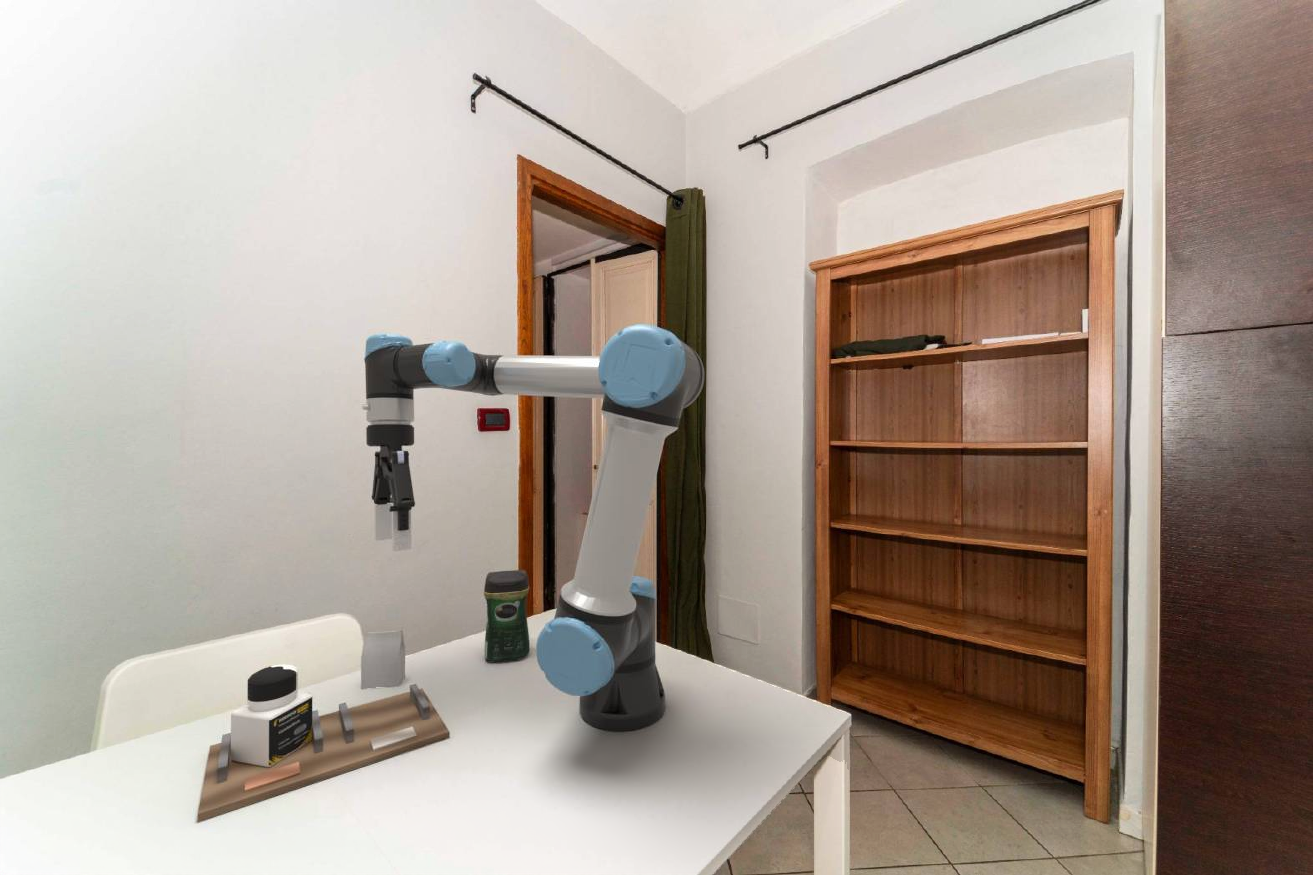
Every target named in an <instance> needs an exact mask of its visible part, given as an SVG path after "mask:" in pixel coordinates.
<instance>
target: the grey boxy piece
mask: <svg viewBox="0 0 1313 875" xmlns="http://www.w3.org/2000/svg"><path fill="white" fill-rule="evenodd" d="M404 640H405V639H404V634H403V630H389V631H372V632H370V631H369V632H365V633H364V638H363V645H362V650H361V657H360V669H361V670H360V690H368V689H367V688H371V689H377V688H376V687H385V688H396V687H398V688H399V687H400V686H401V684H402V683H403V682H404V680H405V679H406V646H405V642H404ZM401 682H402V683H401Z"/></svg>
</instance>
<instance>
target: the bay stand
mask: <svg viewBox="0 0 1313 875" xmlns="http://www.w3.org/2000/svg"><path fill="white" fill-rule="evenodd" d="M346 702H347V701H346ZM346 702H343V703H339V704H338V710H337V711H333V712H329V713H326V714H321V715H319V711H318V709H315V710H312V740H311V741H310V742H308V743H307V744H305V745H304V746H302V747H300V748H299V749H297V750H296V751H294V752H293V753H291V754H290V755H288V756H287V757H285V758H284V759H282V760H280V761H279V762H277V763H276V764H274V765H273V766H271V767H264V766H258V765H252V764H247V763H241V762H235V761H231V732H229V733H225V734H222V735H221V742H219V743H214V744H211V745H209V750H208V754H207V760H206V767H205V772H204V777H203V784H202V788H201V793H200V799H199V805H198V810H197V823H200V822H202V821H206V820H208V819H212V818H215V817H217V816H221V815H224V814H227V813H230V812H232V811H236V810H239V809H241V808H245V807H247V806H251V805H253V804H256V803H260V802H262V801H265V800H269V799H271V798H273V797H278V796H280V795H283V794H287V793H289V792H292V791H295V790H298V789H301V788H304V787H306V786H310V785H313V784H317V783H319V782H322V781H325V780H327V779H331V778H333V777H337V776H340V775H343V774H346V773H349V772H351V771H354V770H357V769H358V770H359V769H360V768H363V767H366V766H369V765H370V766H371V765H372V764H375V763H379V762H381V761H384V760H388V759H390V758H393V757H396V756H399V755H402V754H405V753H408V752H412V751H414V750H417V749H420V748H424V747H425V746H429V745H431V744H435V743H438V742H441V741H444V740H448V739H450V730H449V728H448V727H447V725H446V724H445V722H444V720H443V718H442V717H441V716H440V714H439V712H438V711H437V709H436V708H435V707H434V704H433V703H432V702H431V700H430V698H429V697H428V696H427V694H426V692H425V690H424V689H423V688H422V687H421V688H419V687H418V685H417V683H415V684H414V683H413V684H410V685H409V691H406V692H403V693H400V694H396V695H392V696H388V697H384V698H382V699H378V700H373V701H370V702H366V703H363V704H359V705H356V706H351V707H348V704H347V703H346Z"/></svg>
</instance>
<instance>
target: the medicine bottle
mask: <svg viewBox="0 0 1313 875" xmlns="http://www.w3.org/2000/svg"><path fill="white" fill-rule="evenodd" d="M298 671H299V669H298V667H296V665H293V664H276V665H275V664H274V665H270V666H268V667H265V668H262V669H260V670H258V671H255V672H254V673H253V674H251V675H250V676H249V678H248V679H247V704H245V705H243V706H241V707H239V708H237V709H235V710H233V711H232V712H231V714H230V733H231V761H235V762H241V763H247V764H252V765H258V766H264V767H271V766H273V765H274V764H276V763H277V762H279V761H280V760H282V759H284V758H285V757H287V756H288V755H290V754H291V753H293V752H294V751H296V750H297V749H299V748H300V747H302V746H304V745H305V744H307V743H308V742H310V741H311V740H312V711H313V695H312V694H310V693H303V692H299V691H298V690H299V687H298V686H299V685H298V684H299V682H298V681H299V678H298V677H299V672H298Z"/></svg>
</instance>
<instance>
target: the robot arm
mask: <svg viewBox="0 0 1313 875" xmlns="http://www.w3.org/2000/svg"><path fill="white" fill-rule="evenodd" d="M364 352H365V353H364V359H363V360H364V364H365V370H364V371H365V399H366V404H365V403H364V404H363V405H362V410H364V411H366V421H367V422H368V423H370V424H369V425H367V427H366V428H365V430H366V431H365V432H366V433H365V434H366V436H365V438H366V445H367V446H368V447H379V449H380V450H379V451H375V453H374V469H373V470H374V471H373V480H372V482H373V483H372V490H371V491H372V494H371V499H372V501H373V503H374V540H375V541H376V542H377V541H384V540H392V541H391V542H392V552H399V551H405V550H406V551H407V550H412V508H414V507H415V506H416V501H415V495H414V489H413V488H414V487H413V482H412V475H411V469H410V468H411V467H410V458H409V456H410V453H409V451H408V450H403V447H409V446H414V445H415V427H414V426H413V425H412V424H411V423H413V422H414V421H415V400H414V398H415V397H414V395H415V394H414V390H418V389H442V390H450V391H451V390H452V391H457V392H458V391H459V392H468V393H474V394H479V395H480V394H481V395H484V396H492V397H494V396H502V395H508V396H509V395H510V396H512V395H513V396H515V395H516V396H535V397H536V396H537V397H555V398H556V397H559V398H561V397H562V398H580V399H581V398H584V399H586V398H587V399H602V404H601V409H600V413H601V415H602V417H603V418H604V419H605V421H606V423H607V429H606V430H607V431H606V435H605V439H604V443H603V447H602V448H603V449H602V452H601V455H600V462H599V465H598V469H597V470H598V471H597V474H596V480H595V484H594V487H593V493H592V496H591V501H590V506H589V510H588V515H587V517H586V524H585V528H584V532H583V537H582V540H581V545H580V549H579V554H578V560H577V563H576V568H575V570H574V571H575V573H574V576H573V579H571V580H570V581H567V583H565V584H563V585H562V586H561V589H560V592H559V596H558V601H557V606H556V609H555V613H554V617H553V619H551V620H550V621H548V622H546V623H545V625H544V627H543V628H542V630H540V633H539V634H538V636H537V639H536V645H535V654H536V655H535V656H536V660H537V663H538V666H539V669H540V671H542V672H543V673H544V675H545V678H546V680H547V681H548V682H549V683H550V684H551V685H552V686H553V687H554V688H555V689H556V690H558V691H559V692H562V693H563V694H567V695H569V696H573V697H579V700H578V701H579V707H578V709H579V715H580V716H581V718H582V719H583V721H585V723H587V724H588V725H591V726H592V727H595V728H598V729H601V730H606V731H614V732H621V731H622V732H624V731H625V732H626V731H634V730H639V729H642V728H646V727H648V726H651V725H652V724H654V723H656V722H658V720H659V719H661V718H662V716H664V713H665V711H666V693H665V689H664V686H663V684H662V683H663V682H662V680H661V676H660V673H659V671H658V667H657V665H656V664H657V663H656V620H657V619H656V618H657V617H656V613H657V612H656V601H657V596H656V586H655V583H654V582H653V581H652V580H651V579H650V578H647V577H645V576H639V575H634V574H635V573H634V572H635V569H636V565H637V561H638V557H639V552H640V547H641V544H642V539H643V534H644V529H645V525H646V521H647V517H648V513H649V509H650V504H651V500H652V496H653V493H654V492H653V491H654V487H655V482H656V479H657V474H658V470H659V465H660V462H661V458H662V453H663V449H664V448H663V447H664V444H665V439H666V438H667V437H668V436H669V435H671V434H673V433H675V431H677V430H678V429H679V425H680V421H681V417H682V412H683V410H684V409H686V408H687V407H689V406H690V405H692V403H694V402H695V400H697V398H698V397H699V395H700V394H701V392H702V389H703V387H704V383H705V368H704V365H703V361H702V360H701V357H700V356H699V354H698V353H697V352H696V351H695V350H694V349H693V347H691V346H690V345H689V344H687V343H685V342H683V341H682V340H681V339H679V338H678V337H677V336H676V335H675V334H674V333H672V332H671V331H670V330H667V329H666V328H665V329H664V328H661V327H658V326H656V325H652V324H648V323H647V324H646V323H645V324H643V323H641V324H634V325H630V326H627V327H625V328H623V329H621V330H620V331H618V332H617V333H615V334H614V335H613V336H611V338H609V340H608V341H607V342H606V344H604V347H603V348H602V351H601V353H600V355H535V354H534V355H533V354H532V355H527V354H526V355H523V354H521V355H518V354H516V355H514V354H513V355H512V354H511V355H510V354H509V355H508V354H504V355H503V354H483V353H477V352H473V351H471V349H470V348H468V347H467V345H466V344H465V343H463V342H460V341H446V340H441V341H436V342H431V343H423V344H416V345H414V344H413V340H412V339H411V338H409V337H407V336H404V335H401V334H400V335H399V334H393V333H387V334H383V333H379V334H378V333H377V334H373V335H370V336H368V337H367V339H366V342H365V351H364Z"/></svg>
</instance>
